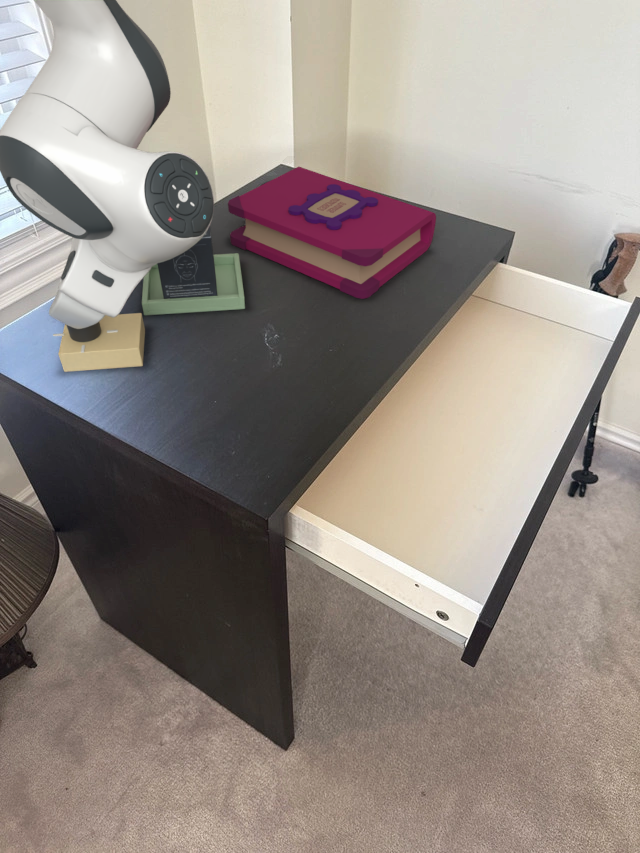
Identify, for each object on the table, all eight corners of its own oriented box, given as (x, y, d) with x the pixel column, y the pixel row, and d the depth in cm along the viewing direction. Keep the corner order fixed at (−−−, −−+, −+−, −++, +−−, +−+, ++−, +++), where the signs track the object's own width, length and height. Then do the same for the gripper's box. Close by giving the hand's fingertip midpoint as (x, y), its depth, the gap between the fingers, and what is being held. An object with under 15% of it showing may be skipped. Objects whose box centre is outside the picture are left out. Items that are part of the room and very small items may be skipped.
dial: (68, 343, 81) (60, 319, 79) (71, 325, 84) (64, 301, 81) (100, 341, 82) (93, 316, 79) (102, 323, 85) (96, 299, 82)
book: (303, 200, 119) (303, 159, 114) (432, 247, 108) (439, 205, 102) (227, 242, 107) (223, 199, 102) (363, 301, 96) (367, 256, 90)
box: (216, 282, 97) (210, 217, 90) (218, 302, 93) (211, 236, 86) (164, 285, 96) (153, 220, 89) (164, 306, 92) (152, 240, 85)
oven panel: (55, 373, 82) (48, 354, 79) (63, 335, 87) (57, 316, 85) (142, 366, 83) (138, 347, 81) (145, 330, 89) (141, 311, 87)
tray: (144, 315, 91) (141, 303, 90) (147, 269, 100) (144, 258, 99) (245, 309, 93) (244, 296, 92) (239, 264, 102) (238, 253, 101)
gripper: (132, 130, 67) (93, 166, 78) (53, 301, 63) (24, 314, 74) (183, 165, 70) (139, 195, 82) (111, 330, 67) (75, 338, 78)
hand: (83, 253), depth 78 cm, fingers open, 8 cm apart
